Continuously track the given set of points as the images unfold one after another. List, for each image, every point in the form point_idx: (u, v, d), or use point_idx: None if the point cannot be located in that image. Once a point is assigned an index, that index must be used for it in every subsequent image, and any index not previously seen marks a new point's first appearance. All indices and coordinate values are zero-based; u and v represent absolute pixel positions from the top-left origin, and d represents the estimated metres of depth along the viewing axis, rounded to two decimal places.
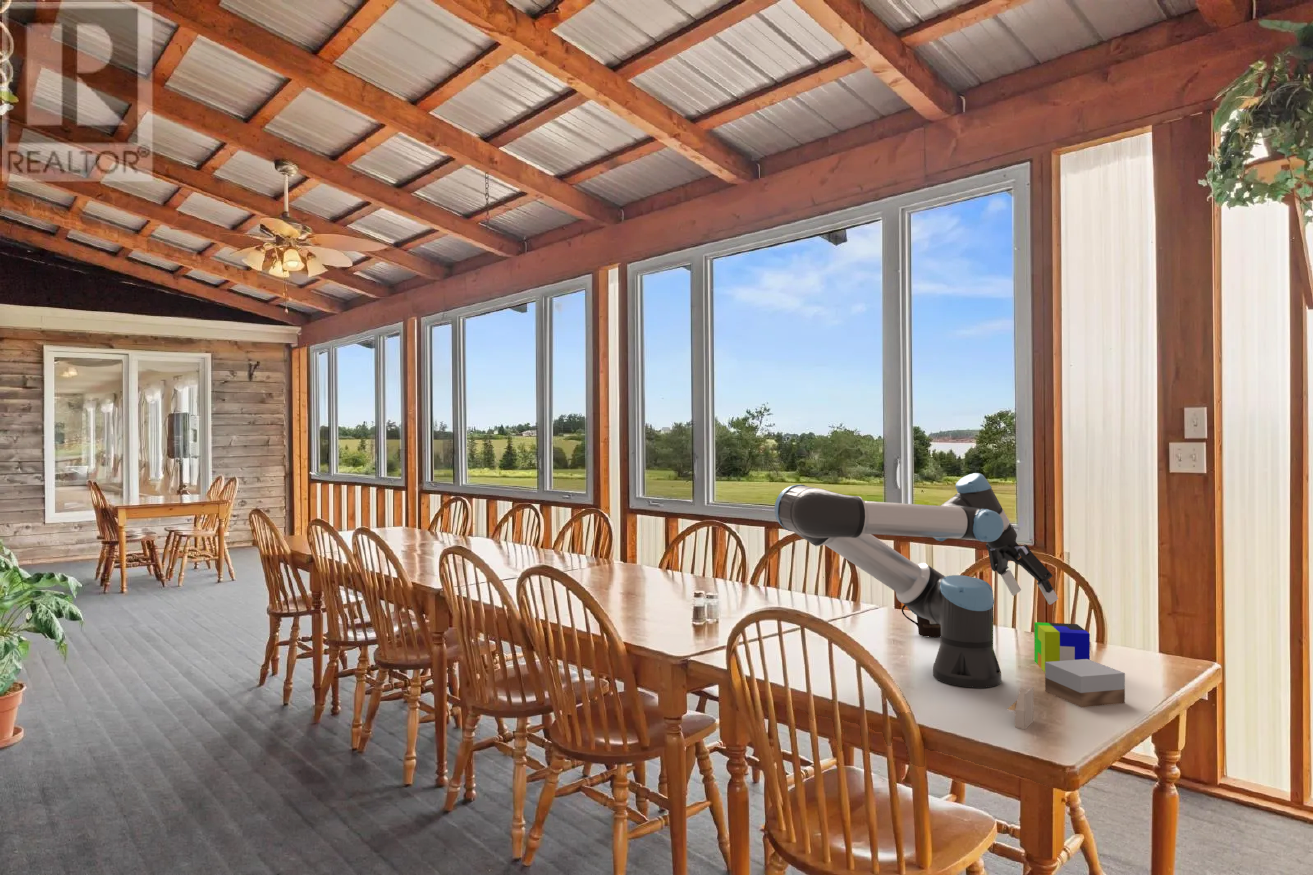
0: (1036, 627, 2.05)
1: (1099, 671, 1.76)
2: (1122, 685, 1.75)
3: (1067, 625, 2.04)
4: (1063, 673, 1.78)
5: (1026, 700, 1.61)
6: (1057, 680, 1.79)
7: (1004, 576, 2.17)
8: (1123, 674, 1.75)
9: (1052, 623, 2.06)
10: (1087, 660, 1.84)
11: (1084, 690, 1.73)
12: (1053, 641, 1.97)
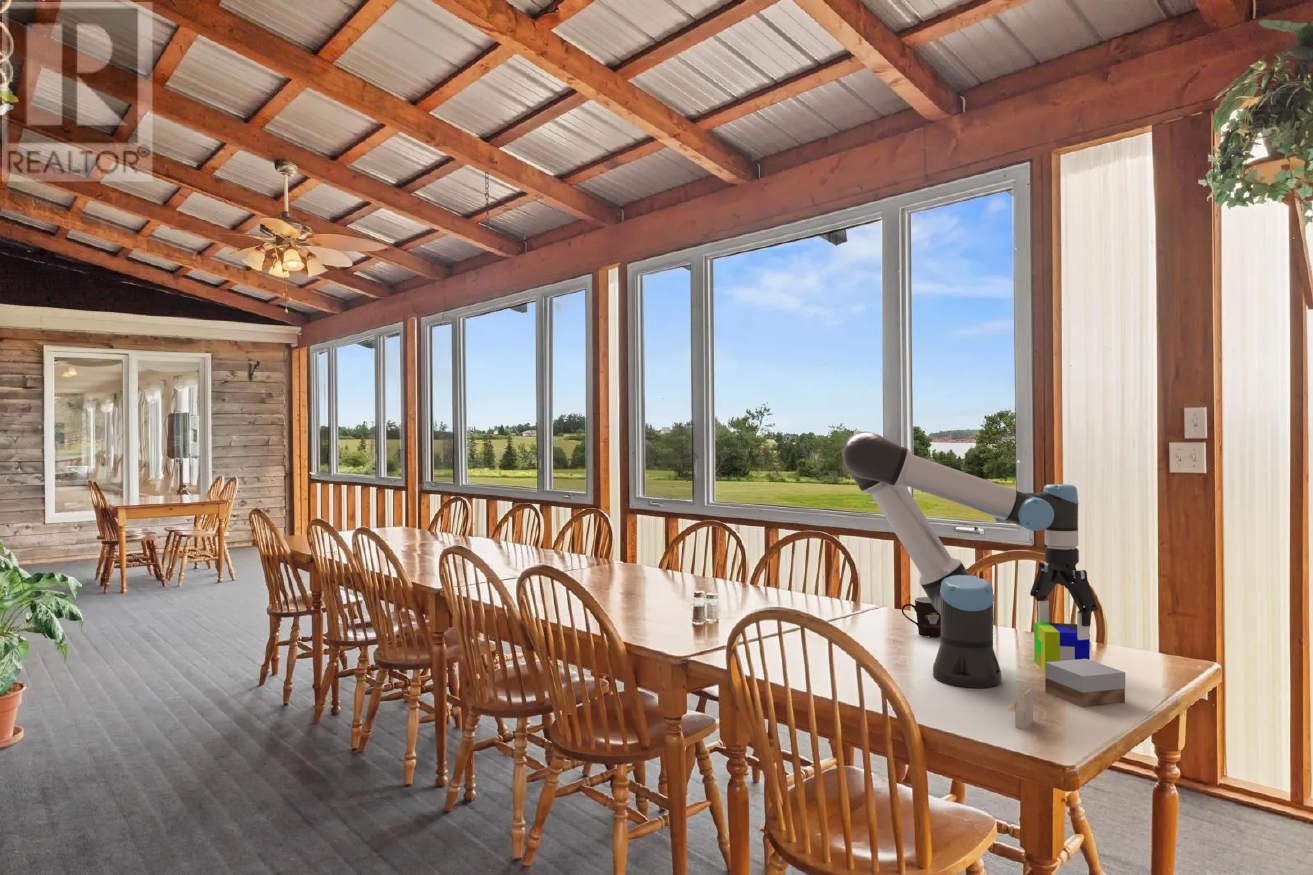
0: (1036, 627, 2.05)
1: (1100, 671, 1.76)
2: (1122, 684, 1.75)
3: (1067, 625, 2.04)
4: (1064, 673, 1.78)
5: (1026, 700, 1.61)
6: (1058, 680, 1.79)
7: (1040, 603, 2.07)
8: (1123, 673, 1.75)
9: (1052, 623, 2.06)
10: (1086, 660, 1.85)
11: (1086, 690, 1.73)
12: (1053, 641, 1.97)
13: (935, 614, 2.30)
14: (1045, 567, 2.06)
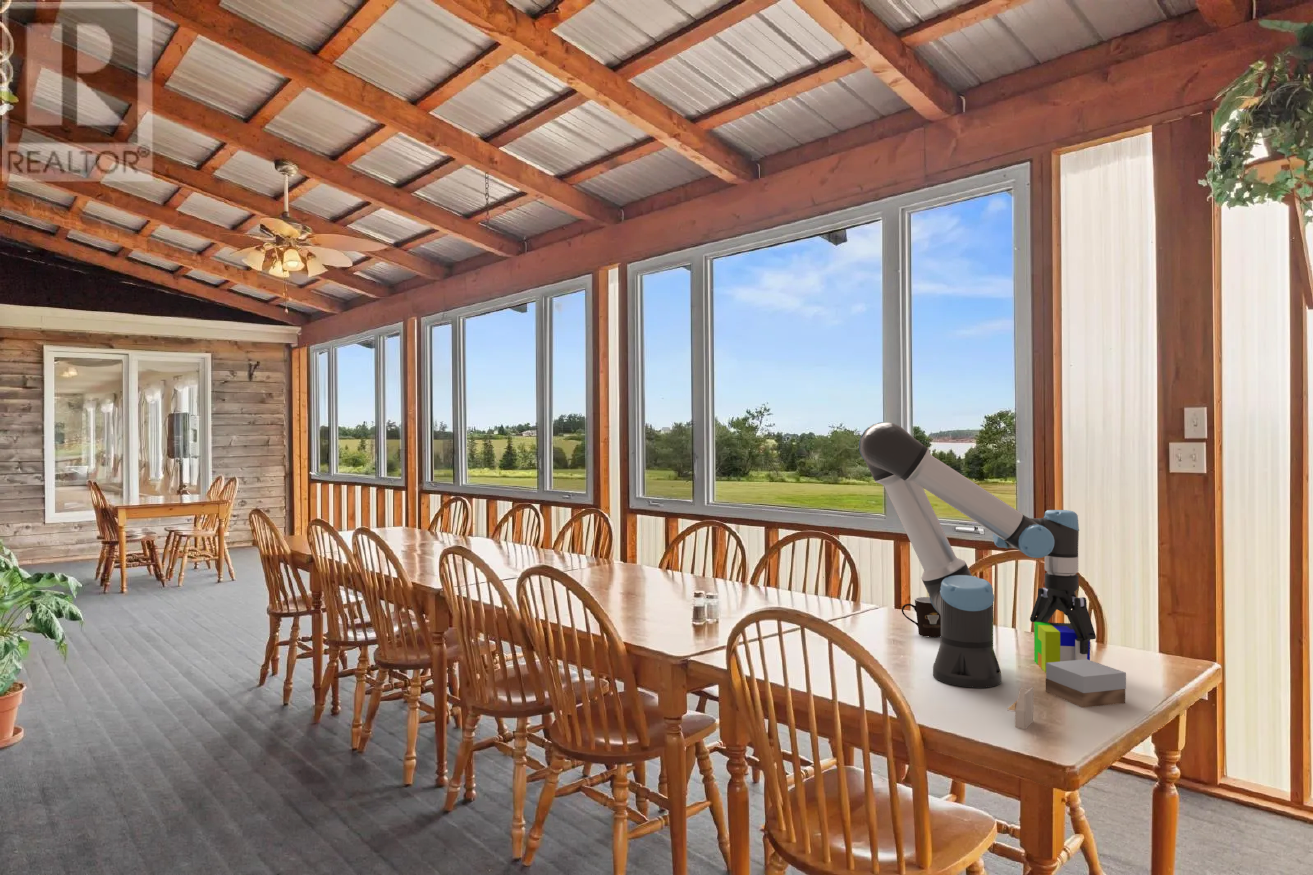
0: (1036, 627, 2.05)
1: (1101, 671, 1.76)
2: (1123, 685, 1.75)
3: (1067, 625, 2.04)
4: (1065, 674, 1.77)
5: (1026, 700, 1.61)
6: (1059, 681, 1.79)
7: None
8: (1124, 674, 1.75)
9: (1052, 623, 2.06)
10: (1087, 660, 1.85)
11: (1087, 690, 1.73)
12: (1053, 640, 1.97)
13: (935, 614, 2.30)
14: (1045, 592, 2.06)
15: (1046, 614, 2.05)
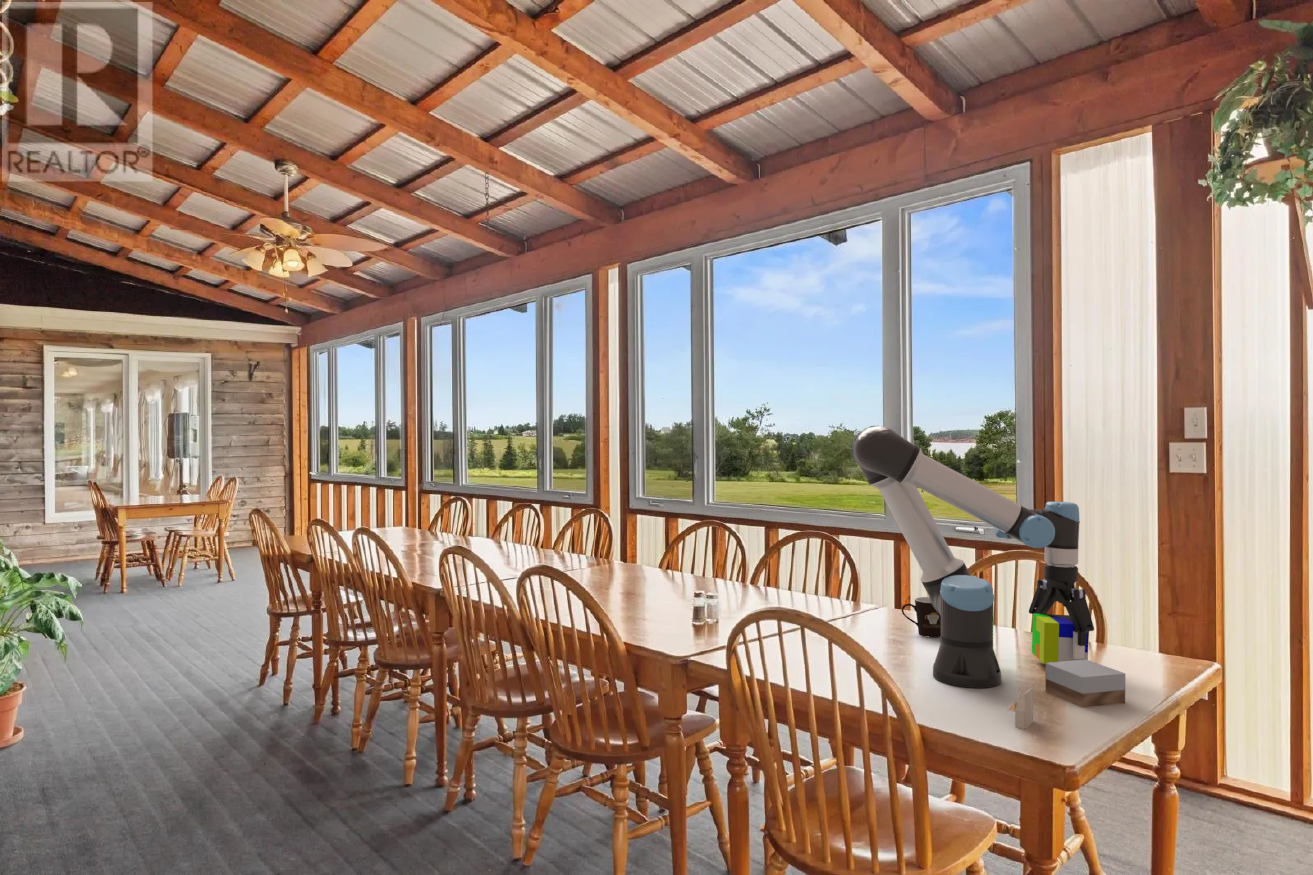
0: (1034, 618, 2.05)
1: (1100, 672, 1.76)
2: (1123, 685, 1.75)
3: (1065, 616, 2.04)
4: (1064, 674, 1.77)
5: (1026, 700, 1.61)
6: (1058, 681, 1.79)
7: None
8: (1124, 674, 1.75)
9: (1050, 614, 2.06)
10: (1086, 661, 1.84)
11: (1086, 691, 1.73)
12: (1052, 632, 1.97)
13: (935, 614, 2.30)
14: (1044, 584, 2.06)
15: (1045, 606, 2.05)
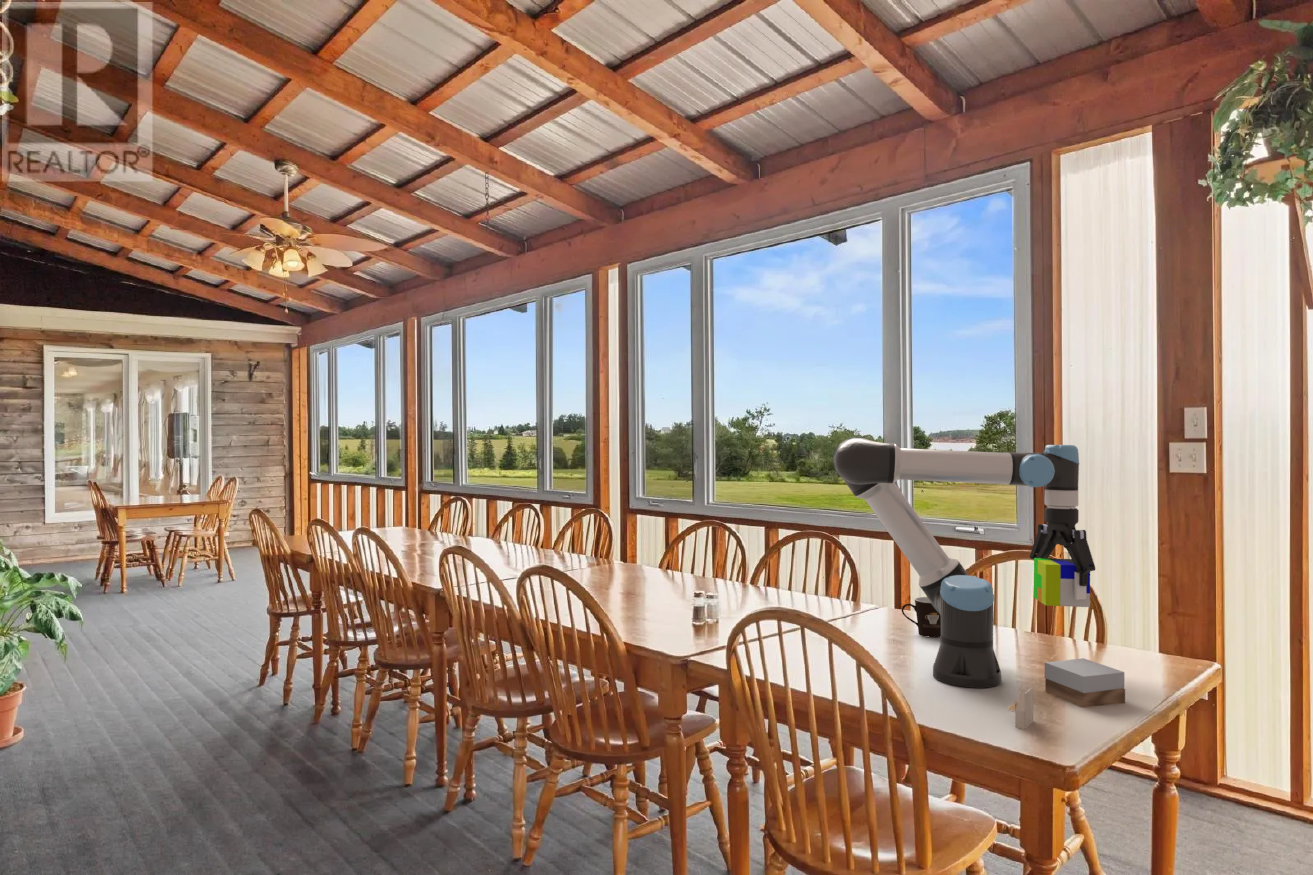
0: (1036, 562, 2.05)
1: (1099, 671, 1.76)
2: (1122, 684, 1.75)
3: (1067, 560, 2.03)
4: (1064, 673, 1.77)
5: (1026, 700, 1.61)
6: (1058, 680, 1.79)
7: None
8: (1123, 673, 1.75)
9: (1051, 558, 2.05)
10: (1084, 659, 1.85)
11: (1087, 690, 1.73)
12: (1053, 573, 1.97)
13: (935, 614, 2.30)
14: (1044, 528, 2.06)
15: (1046, 550, 2.05)
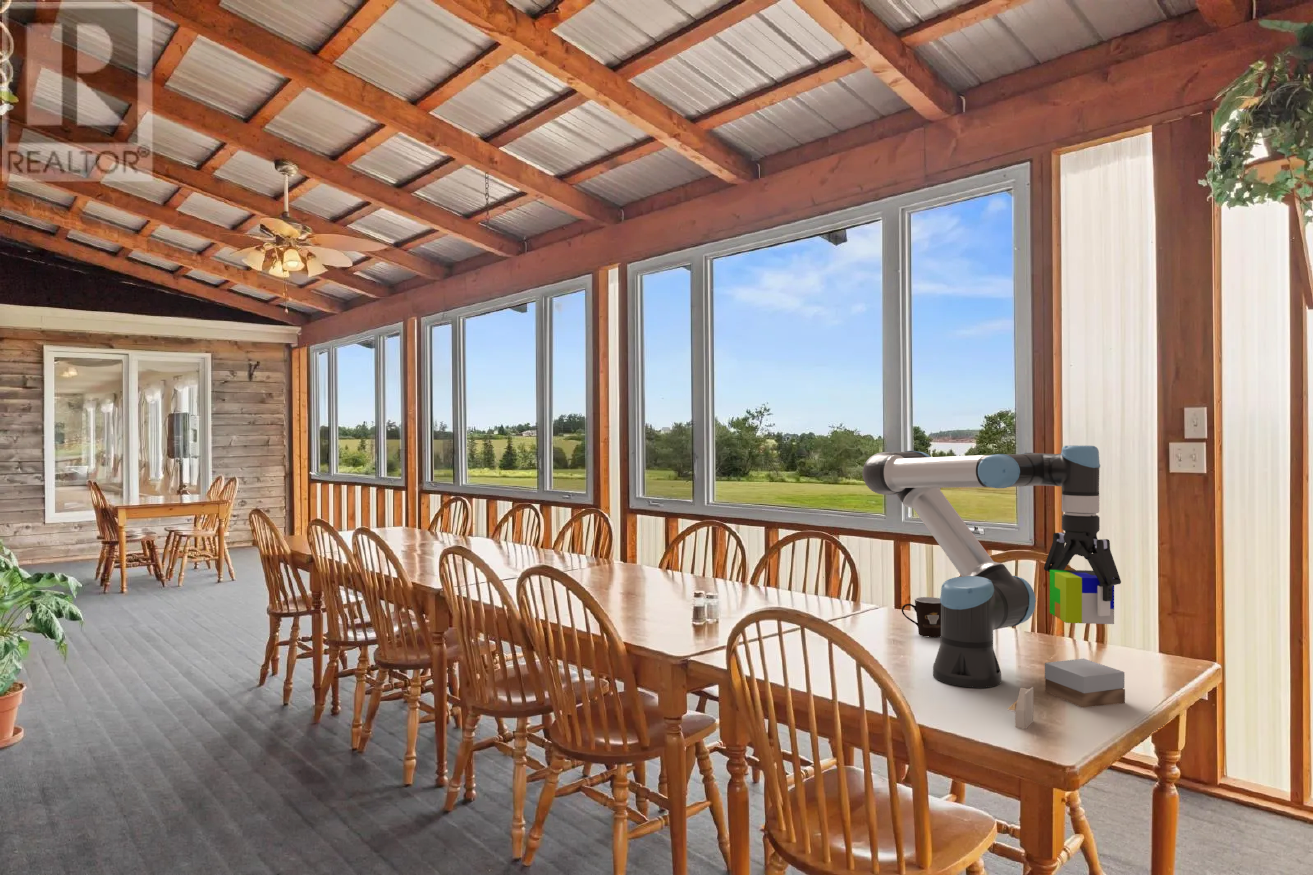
0: (1052, 575, 1.86)
1: (1099, 671, 1.76)
2: (1122, 684, 1.75)
3: (1086, 571, 1.85)
4: (1065, 674, 1.77)
5: (1026, 700, 1.61)
6: (1058, 681, 1.79)
7: None
8: (1123, 673, 1.75)
9: (1069, 570, 1.87)
10: (1084, 660, 1.85)
11: (1087, 690, 1.73)
12: (1074, 587, 1.78)
13: (935, 614, 2.30)
14: (1061, 537, 1.88)
15: (1063, 561, 1.87)
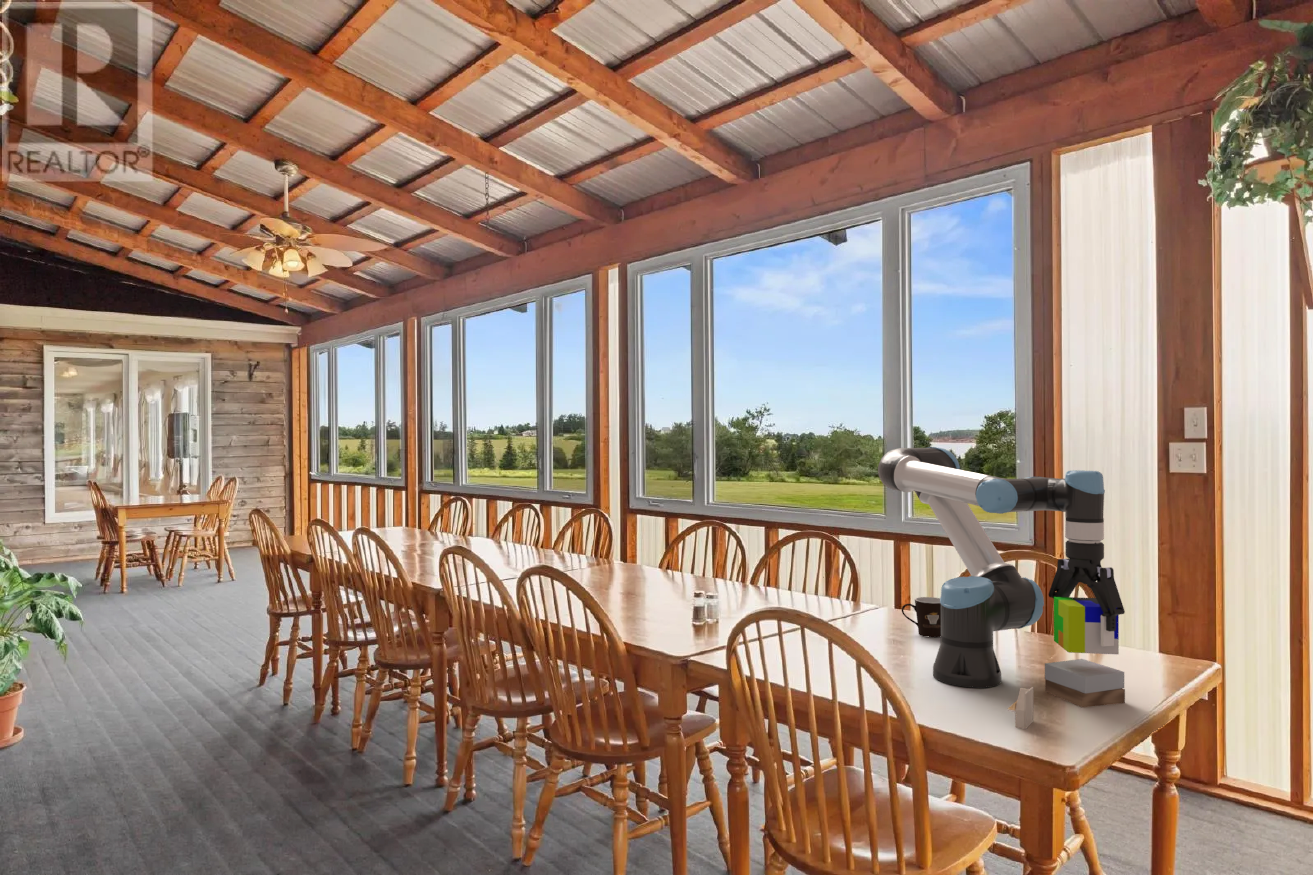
0: (1056, 602, 1.83)
1: (1100, 671, 1.76)
2: (1122, 684, 1.76)
3: (1091, 599, 1.81)
4: (1065, 674, 1.77)
5: (1026, 700, 1.61)
6: (1058, 681, 1.79)
7: None
8: (1123, 673, 1.76)
9: (1074, 597, 1.83)
10: (1083, 660, 1.85)
11: (1089, 690, 1.73)
12: (1077, 616, 1.75)
13: (935, 614, 2.30)
14: (1065, 564, 1.84)
15: (1067, 588, 1.83)
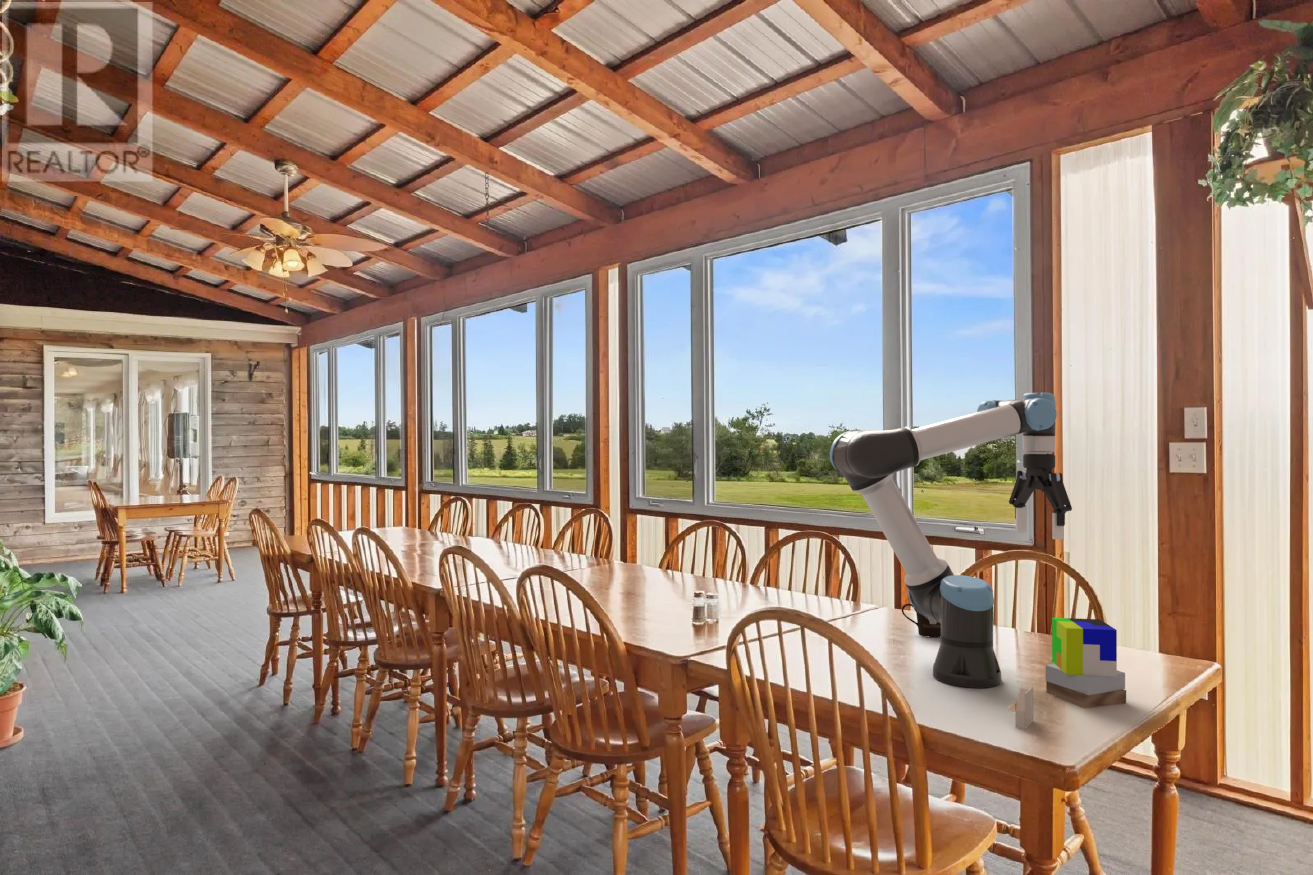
0: (1054, 623, 1.83)
1: None
2: (1123, 685, 1.76)
3: (1089, 621, 1.81)
4: (1067, 676, 1.76)
5: (1026, 700, 1.61)
6: (1060, 683, 1.78)
7: (1018, 509, 2.15)
8: (1124, 674, 1.76)
9: (1072, 618, 1.83)
10: None
11: (1092, 692, 1.72)
12: (1075, 638, 1.74)
13: None
14: (1023, 474, 2.13)
15: (1024, 495, 2.13)
